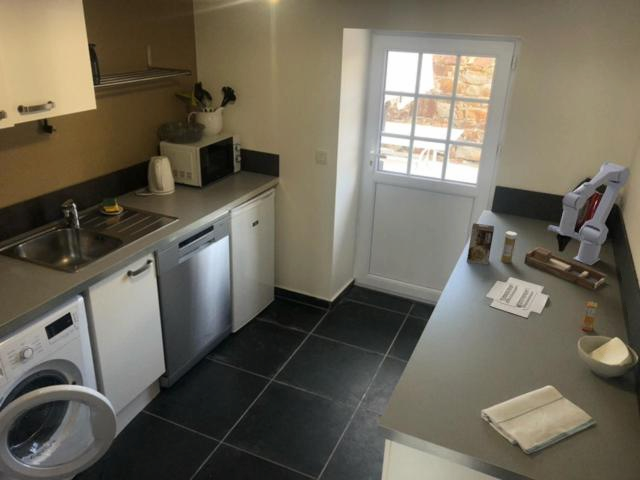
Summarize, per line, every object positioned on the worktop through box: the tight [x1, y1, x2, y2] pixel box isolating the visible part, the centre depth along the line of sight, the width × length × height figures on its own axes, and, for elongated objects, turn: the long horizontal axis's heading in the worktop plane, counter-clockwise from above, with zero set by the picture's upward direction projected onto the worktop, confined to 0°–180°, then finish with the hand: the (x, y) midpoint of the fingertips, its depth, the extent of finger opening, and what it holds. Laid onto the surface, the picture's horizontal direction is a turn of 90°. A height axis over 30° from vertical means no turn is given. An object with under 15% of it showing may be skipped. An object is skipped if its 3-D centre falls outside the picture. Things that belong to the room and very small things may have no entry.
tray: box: [485, 276, 550, 319], centre depth 206 cm, size 20×28×4 cm
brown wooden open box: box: [523, 246, 607, 291], centre depth 226 cm, size 11×30×4 cm, turn 42°
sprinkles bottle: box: [500, 230, 518, 264], centre depth 232 cm, size 5×5×13 cm
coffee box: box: [466, 223, 495, 266], centre depth 231 cm, size 9×6×16 cm
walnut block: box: [534, 247, 553, 263], centre depth 232 cm, size 5×5×4 cm
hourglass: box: [581, 301, 598, 332], centre depth 186 cm, size 3×3×10 cm
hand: (561, 250), depth 225 cm, fingers closed
